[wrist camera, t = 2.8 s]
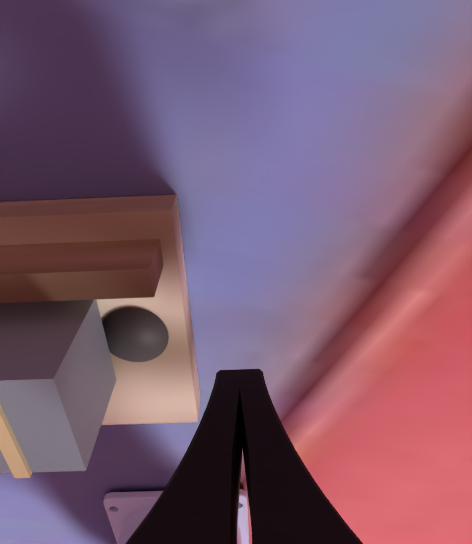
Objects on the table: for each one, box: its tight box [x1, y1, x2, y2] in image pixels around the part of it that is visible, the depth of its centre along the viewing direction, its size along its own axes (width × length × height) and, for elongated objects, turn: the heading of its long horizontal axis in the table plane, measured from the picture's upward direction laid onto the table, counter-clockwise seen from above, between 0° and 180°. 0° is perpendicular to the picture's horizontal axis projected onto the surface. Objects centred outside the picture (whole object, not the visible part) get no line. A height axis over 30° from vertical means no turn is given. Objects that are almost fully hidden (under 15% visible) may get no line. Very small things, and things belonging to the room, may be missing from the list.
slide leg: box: [0, 299, 117, 478], centre depth 14 cm, size 4×4×4 cm
